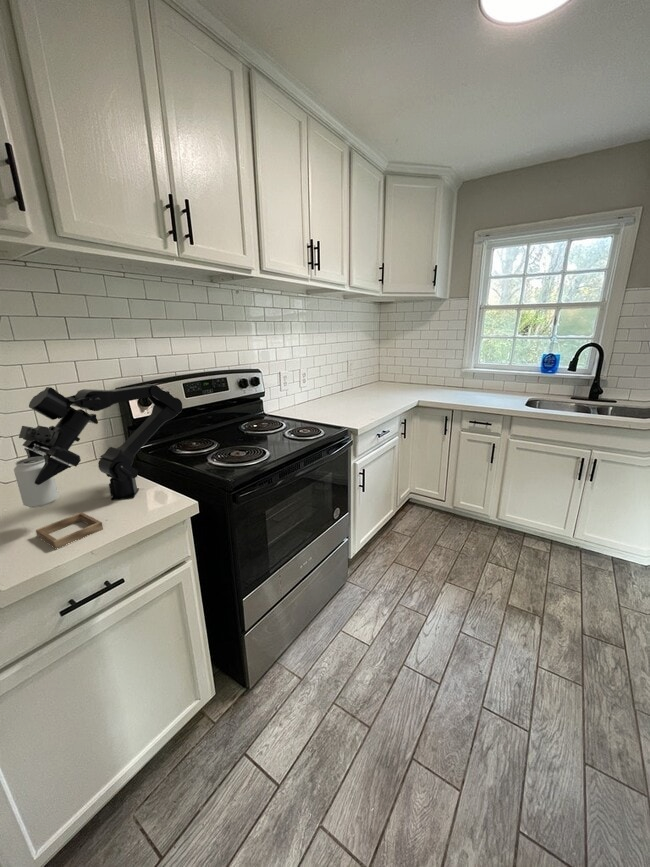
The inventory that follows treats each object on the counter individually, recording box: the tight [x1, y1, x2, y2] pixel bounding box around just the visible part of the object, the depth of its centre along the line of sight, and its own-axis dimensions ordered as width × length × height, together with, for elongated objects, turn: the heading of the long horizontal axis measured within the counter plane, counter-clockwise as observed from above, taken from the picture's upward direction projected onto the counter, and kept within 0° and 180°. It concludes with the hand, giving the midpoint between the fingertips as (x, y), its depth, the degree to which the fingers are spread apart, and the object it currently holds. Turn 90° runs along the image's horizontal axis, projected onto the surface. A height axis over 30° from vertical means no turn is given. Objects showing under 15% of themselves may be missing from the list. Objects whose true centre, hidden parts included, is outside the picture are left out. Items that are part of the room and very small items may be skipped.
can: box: [13, 456, 60, 509], centre depth 90 cm, size 8×8×12 cm
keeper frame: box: [35, 512, 104, 550], centre depth 90 cm, size 11×11×2 cm
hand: (29, 481), depth 89 cm, fingers closed on can, 7 cm apart
